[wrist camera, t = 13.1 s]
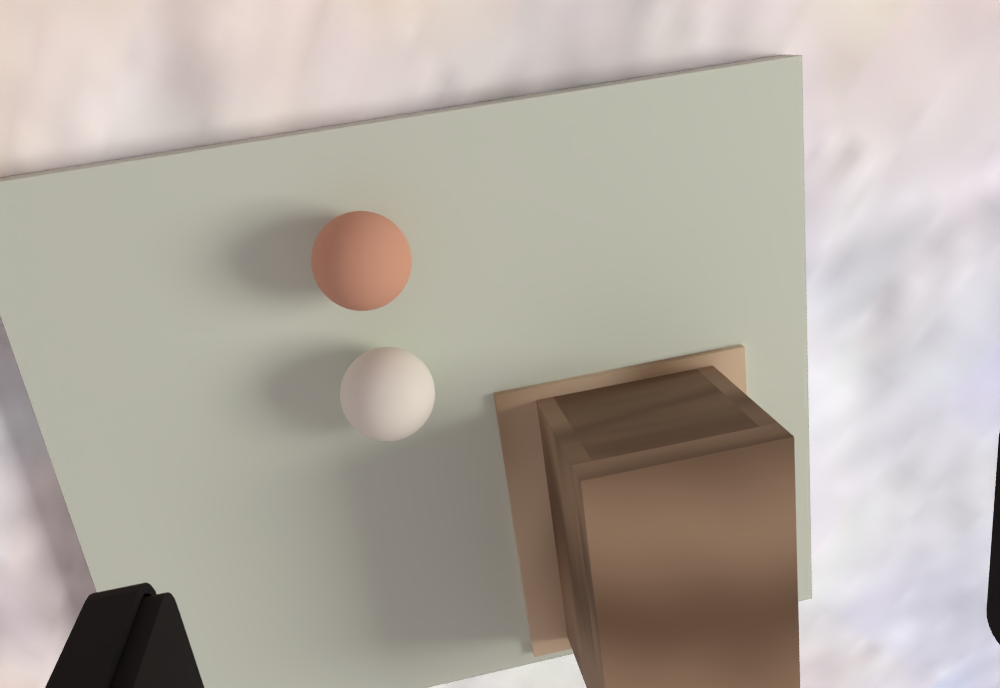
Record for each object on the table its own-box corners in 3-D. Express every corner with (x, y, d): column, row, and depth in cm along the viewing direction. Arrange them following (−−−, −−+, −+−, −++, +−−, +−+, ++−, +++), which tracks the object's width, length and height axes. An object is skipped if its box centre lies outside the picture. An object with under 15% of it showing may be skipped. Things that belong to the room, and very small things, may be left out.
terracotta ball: (399, 195, 28) (405, 213, 25) (415, 286, 29) (423, 313, 26) (302, 211, 28) (299, 231, 25) (322, 303, 29) (321, 332, 26)
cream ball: (422, 327, 30) (431, 357, 27) (437, 409, 31) (446, 446, 28) (331, 343, 29) (331, 376, 26) (349, 426, 30) (350, 466, 27)
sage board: (784, 54, 30) (802, 55, 29) (797, 581, 37) (811, 597, 36) (-29, 182, 27) (-44, 188, 26) (158, 728, 34) (152, 751, 33)
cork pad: (741, 344, 32) (744, 347, 31) (753, 601, 36) (756, 605, 35) (493, 392, 31) (494, 396, 30) (532, 652, 35) (534, 657, 34)
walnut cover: (536, 400, 31) (580, 481, 25) (713, 365, 32) (794, 436, 26) (567, 637, 34) (613, 755, 29) (726, 601, 35) (800, 709, 29)
